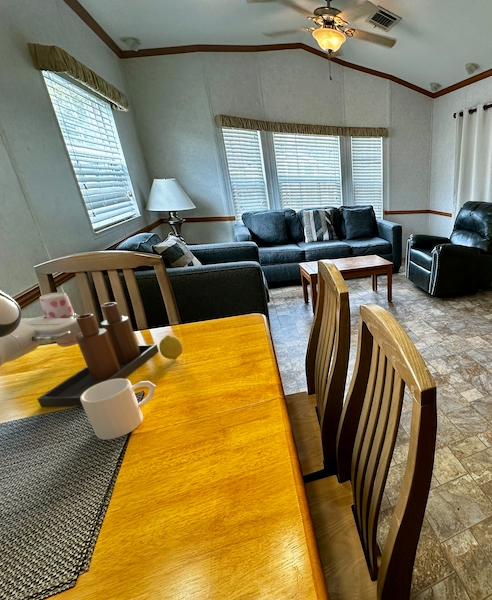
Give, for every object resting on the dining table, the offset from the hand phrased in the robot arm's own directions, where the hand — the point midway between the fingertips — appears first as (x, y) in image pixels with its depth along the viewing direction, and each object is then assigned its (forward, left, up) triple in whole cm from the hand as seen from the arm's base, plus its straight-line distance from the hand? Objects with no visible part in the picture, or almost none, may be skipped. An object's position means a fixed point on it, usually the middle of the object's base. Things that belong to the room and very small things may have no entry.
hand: (64, 316), depth 95 cm
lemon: (+28, -11, -13) cm, 33 cm away
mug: (+27, -38, -13) cm, 48 cm away
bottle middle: (+13, -15, -13) cm, 24 cm away
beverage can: (0, -1, -8) cm, 8 cm away
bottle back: (+15, -7, -13) cm, 21 cm away
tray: (+13, -15, -13) cm, 24 cm away
